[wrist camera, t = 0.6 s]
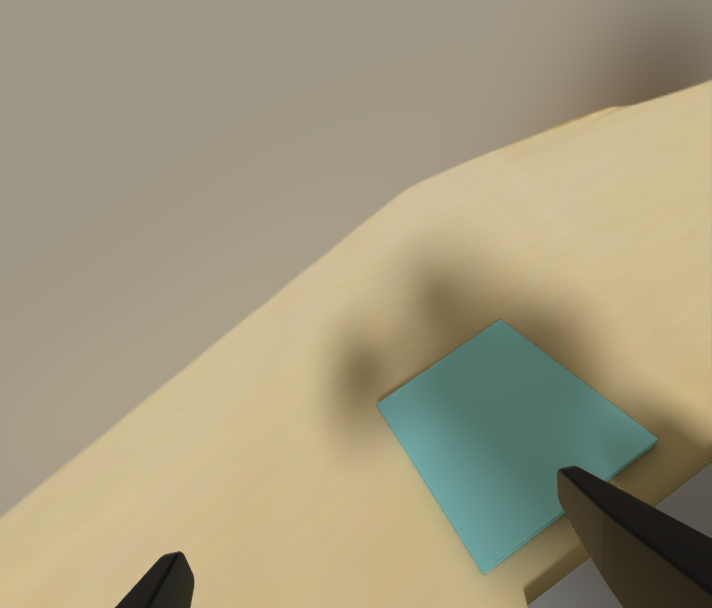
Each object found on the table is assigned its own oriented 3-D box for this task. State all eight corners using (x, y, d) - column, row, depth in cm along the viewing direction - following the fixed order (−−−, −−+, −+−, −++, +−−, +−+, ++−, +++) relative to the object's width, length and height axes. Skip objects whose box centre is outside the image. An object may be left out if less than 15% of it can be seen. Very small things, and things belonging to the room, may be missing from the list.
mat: (655, 444, 20) (658, 439, 19) (483, 575, 19) (481, 573, 18) (501, 325, 29) (500, 319, 28) (379, 409, 28) (375, 404, 27)
